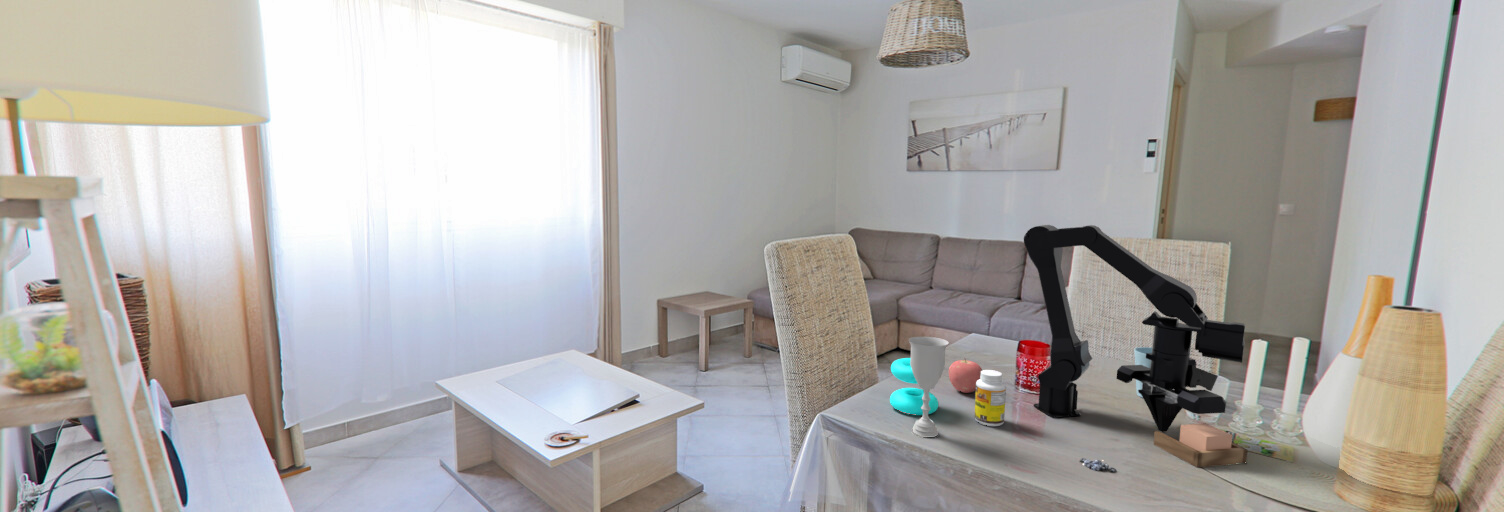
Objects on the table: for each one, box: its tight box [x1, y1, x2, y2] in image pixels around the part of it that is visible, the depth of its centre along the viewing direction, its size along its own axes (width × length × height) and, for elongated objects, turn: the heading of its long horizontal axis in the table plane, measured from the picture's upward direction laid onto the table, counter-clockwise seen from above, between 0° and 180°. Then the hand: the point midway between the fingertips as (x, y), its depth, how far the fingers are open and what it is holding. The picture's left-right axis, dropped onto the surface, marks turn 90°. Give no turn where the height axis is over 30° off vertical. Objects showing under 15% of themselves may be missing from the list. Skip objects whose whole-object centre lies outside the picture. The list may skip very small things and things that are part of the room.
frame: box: [1153, 430, 1249, 468], centre depth 102 cm, size 10×9×2 cm
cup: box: [1133, 346, 1152, 399], centre depth 130 cm, size 8×8×10 cm
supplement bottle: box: [974, 369, 1007, 427], centre depth 116 cm, size 6×6×10 cm
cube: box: [1178, 422, 1233, 451], centre depth 101 cm, size 5×5×5 cm
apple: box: [948, 357, 983, 394], centre depth 133 cm, size 7×7×8 cm
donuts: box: [889, 357, 939, 416], centre depth 123 cm, size 10×10×10 cm
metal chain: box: [1079, 457, 1117, 474], centre depth 98 cm, size 7×8×2 cm
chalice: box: [908, 336, 949, 436], centre depth 110 cm, size 7×7×18 cm
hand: (1162, 431), depth 109 cm, fingers closed
